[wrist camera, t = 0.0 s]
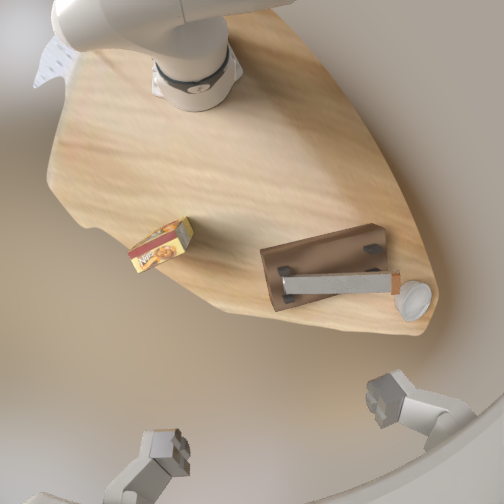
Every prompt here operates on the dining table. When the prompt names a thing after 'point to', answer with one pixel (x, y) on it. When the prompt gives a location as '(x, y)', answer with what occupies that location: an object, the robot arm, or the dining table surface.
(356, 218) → the dining table surface
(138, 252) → the candy box
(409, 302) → the ramekin
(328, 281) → the clamp bar
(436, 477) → the robot arm
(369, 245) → the base
